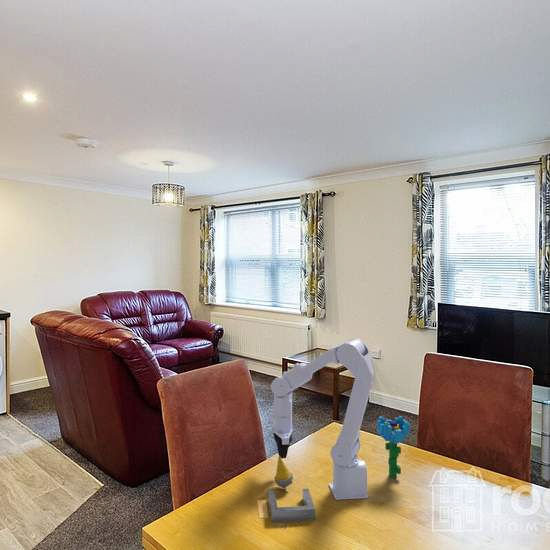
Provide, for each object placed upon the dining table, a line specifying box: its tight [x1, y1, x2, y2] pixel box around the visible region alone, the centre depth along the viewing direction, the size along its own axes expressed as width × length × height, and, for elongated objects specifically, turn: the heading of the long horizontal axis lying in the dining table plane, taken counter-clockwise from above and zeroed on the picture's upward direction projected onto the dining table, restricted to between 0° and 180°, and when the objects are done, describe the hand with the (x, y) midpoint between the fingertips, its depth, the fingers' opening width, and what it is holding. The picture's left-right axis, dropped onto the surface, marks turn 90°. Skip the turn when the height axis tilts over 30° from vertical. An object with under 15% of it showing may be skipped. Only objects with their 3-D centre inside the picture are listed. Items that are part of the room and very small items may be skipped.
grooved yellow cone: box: [274, 455, 294, 490], centre depth 117 cm, size 5×5×10 cm
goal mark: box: [257, 499, 269, 519], centre depth 108 cm, size 2×8×1 cm, turn 6°
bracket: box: [268, 488, 316, 524], centre depth 107 cm, size 11×10×3 cm
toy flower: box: [376, 415, 411, 479], centre depth 124 cm, size 9×9×18 cm
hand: (282, 457), depth 125 cm, fingers closed
